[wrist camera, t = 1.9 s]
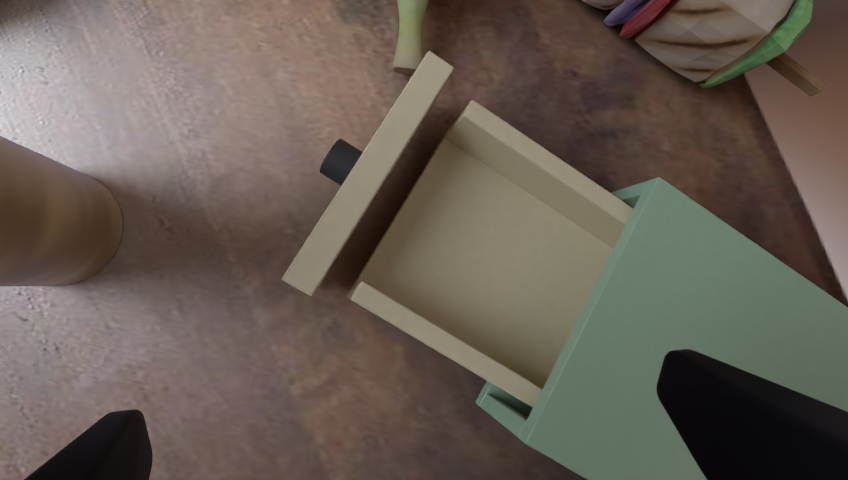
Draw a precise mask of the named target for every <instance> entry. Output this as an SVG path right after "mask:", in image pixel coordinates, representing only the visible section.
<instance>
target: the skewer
mask: <svg viewBox="0 0 848 480" xmlns="http://www.w3.org/2000/svg"><path fill="white" fill-rule="evenodd" d="M581 1H583V2H585V3H587V4H589V5H592V6H594V7H597V8H600V9H603V10H608V9H613V8H614V9H613V10H612V11H611V12H610V14H609V15H608V16H607V17H606V18H605V19H604V21H603V22H604V23H605V24H606V25H608V26H614V25H620V24H624V26H623V28H622V31H621V33H620V36H623V37H625V38H627V39H628V38H630V37H631V36H633V35H634V34H636V33H637V34H636V37H635V40H634V41H635V42H637V43H638V44H639V45H640V46H641V47H642V48H644V49H645V50H646V51H647V52H648V53H650V54H651V55H652V56H653V57H655V58H656V59H658V60H659V61H660V62H662V63H663V64H665V65H666V66H668V67H669V68H670V69H672V70H673V71H675V72H677V73H679V74H681V75H682V76H684V77H686V78H688V79H690V80H692V81H693V82H699V81H701V82H700V83H699V84H700V87H702V88H704V89H706V88H709V87H712V86H715V85H718V84H720V83H723V82H725V81H728V80H731V79H733V78H735V77H736V76H738V75H740V74H742V73H745V72H747V71H749V70H751V69H753V68H755V67H757V66H759V65H761V64H763V63H766V64H768V65H769V66H770V67H772V68H773V69H774V70H776V71H777V72H778V73H780V74H781V75H782V76H784V77H785V78H786V79H788V80H789V81H790V82H792V83H793V84H795V85H796V86H797V87H799V88H800V89H801V90H803V91H804V92H805V93H807V94H808V95H809V96H813V95H815V94H817V93H820V92H822V90H823V88H824V85H825V84H824V83H823V82H821V81H820V80H819V79H818V78H816V77H815V76H814V75H812V74H811V73H810V72H808V71H807V70H806V69H805V68H803V67H802V66H801V65H799V64H798V63H797V62H795V61H794V60H793V59H791V58H790V57H789V56H787V55H786V54H785V53H784V52H785V51H786V50H787V49H788V47H789V46H791V45H792V44H793V43H794V42H795V41H796V40H797V39H798V38H799V37H800V36H801V34H802V33H803V31H804V30H805V28H806V27H807V26H808V24H809V22H810V21H811V14H812V9H813V4H814V0H581Z"/></svg>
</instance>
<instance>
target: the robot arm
mask: <svg viewBox="0 0 848 480" xmlns="http://www.w3.org/2000/svg"><path fill="white" fill-rule="evenodd" d="M656 390H657V395H658V398H659V400H660V402H661V404H662V405H663V407H664V409H665V410H666V412H667V414H668V415H669V417H670V419H671V421H672V422H673V424H674V426H675V427H676V429H677V431H678V432H679V434H680V436H681V438H682V439H683V441H684V443H685V444H686V446H687V448H688V450H689V451H690V453H691V455H692V456H693V458H694V460H695V461H696V463H697V465H698V466H699V468H700V470H701V471H702V473H703V474H704V476H705V477H706V479H707V480H848V412H847V411H844V410H842V409H839V408H837V407H834V406H832V405H829V404H827V403H824V402H822V401H819V400H817V399H814V398H812V397H809V396H807V395H804V394H802V393H799V392H797V391H794V390H792V389H789V388H787V387H784V386H782V385H779V384H777V383H774V382H772V381H769V380H767V379H764V378H762V377H759V376H757V375H754V374H752V373H749V372H747V371H744V370H742V369H739V368H737V367H734V366H732V365H729V364H727V363H724V362H722V361H719V360H717V359H714V358H712V357H709V356H707V355H704V354H702V353H699V352H697V351H694V350H691V349H681V350H672V351H669V352H668V353H667V354H666V355H665V357H664V360H663V364H662V367H661V371H660V374H659V378H658V382H657V386H656ZM151 467H152V448H151V444H150V440H149V436H148V431H147V427H146V423H145V419H144V416H143V414H142V412H141V411H139V410H126V411H117V412H111V413H109V414H107V415H105V416H104V417H103V418H101V419H100V420H99V421H97V422H96V423H95V424H94V425H92V426H91V427H90V428H89V429H87V430H86V431H85V432H84V433H82V434H81V435H80V436H79V437H77V438H76V439H75V440H73V441H72V442H71V443H70V444H68V445H67V446H66V447H65V448H63V449H62V450H61V451H60V452H58V453H57V454H56V455H55V456H53V457H52V458H51V459H50V460H48V461H47V462H46V463H44V464H43V465H42V466H41V467H39V468H38V469H37V470H36V471H34V472H33V473H32V474H31V475H29V476H28V477H27V478H26V479H24V480H149V476H150V472H151Z"/></svg>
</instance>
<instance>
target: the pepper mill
mask: <svg viewBox="0 0 848 480" xmlns="http://www.w3.org/2000/svg"><path fill="white" fill-rule="evenodd" d="M122 230H123V221H122V215H121V211H120V208H119V206H118V203H117V201H116V200H115V198H114V197H113V195H112V194H111V193H110V191H109V190H108V189H107V188H106V187H105V186H104V185H102V184H101V183H100V182H98V181H97V180H95V179H94V178H92V177H90V176H88V175H85V174H83V173H81V172H79V171H77V170H74V169H72V168H70V167H68V166H66V165H63V164H61V163H59V162H57V161H54V160H52V159H50V158H48V157H46V156H43V155H41V154H39V153H37V152H34V151H32V150H30V149H28V148H26V147H23V146H21V145H19V144H17V143H15V142H12V141H10V140H8V139H6V138H3V137H1V136H0V286H60V285H67V284H72V283H76V282H79V281H81V280H84V279H86V278H88V277H90V276H92V275H94V274H95V273H96V272H98V271H99V270H101V269H102V268H103V267H104V266H105V265H106V264H107V263H108V262H109V261H110V259H111V258H112V257H113V255H114V254H115V252H116V250H117V248H118V246H119V243H120V240H121V237H122Z"/></svg>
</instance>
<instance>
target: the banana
mask: <svg viewBox="0 0 848 480" xmlns="http://www.w3.org/2000/svg"><path fill="white" fill-rule="evenodd" d="M428 1H429V0H397V3H398V11H399V20H400V28H399V37H398V43H397V48H396V52H395V57H394V61H393V70H394V71H396V72H399V73H402V74H406V75H410V76H412V75H413V74H414V72H415V71H416V69H417V68H418V66H419V64H420V63H421V61H422V60H423V58H424V57H425V56H424V47H423V23H424V17H425V13H426V9H427V5H428Z"/></svg>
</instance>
